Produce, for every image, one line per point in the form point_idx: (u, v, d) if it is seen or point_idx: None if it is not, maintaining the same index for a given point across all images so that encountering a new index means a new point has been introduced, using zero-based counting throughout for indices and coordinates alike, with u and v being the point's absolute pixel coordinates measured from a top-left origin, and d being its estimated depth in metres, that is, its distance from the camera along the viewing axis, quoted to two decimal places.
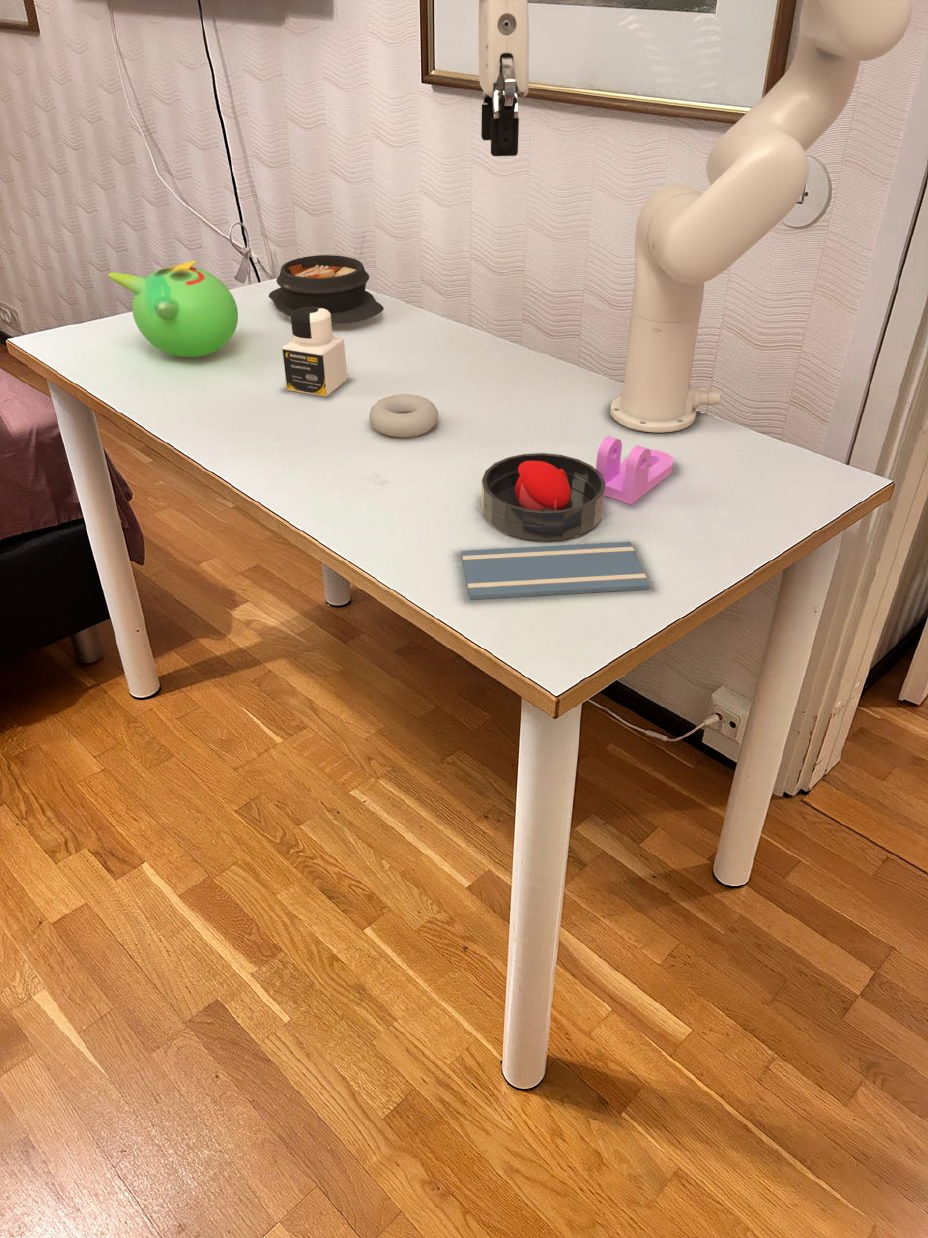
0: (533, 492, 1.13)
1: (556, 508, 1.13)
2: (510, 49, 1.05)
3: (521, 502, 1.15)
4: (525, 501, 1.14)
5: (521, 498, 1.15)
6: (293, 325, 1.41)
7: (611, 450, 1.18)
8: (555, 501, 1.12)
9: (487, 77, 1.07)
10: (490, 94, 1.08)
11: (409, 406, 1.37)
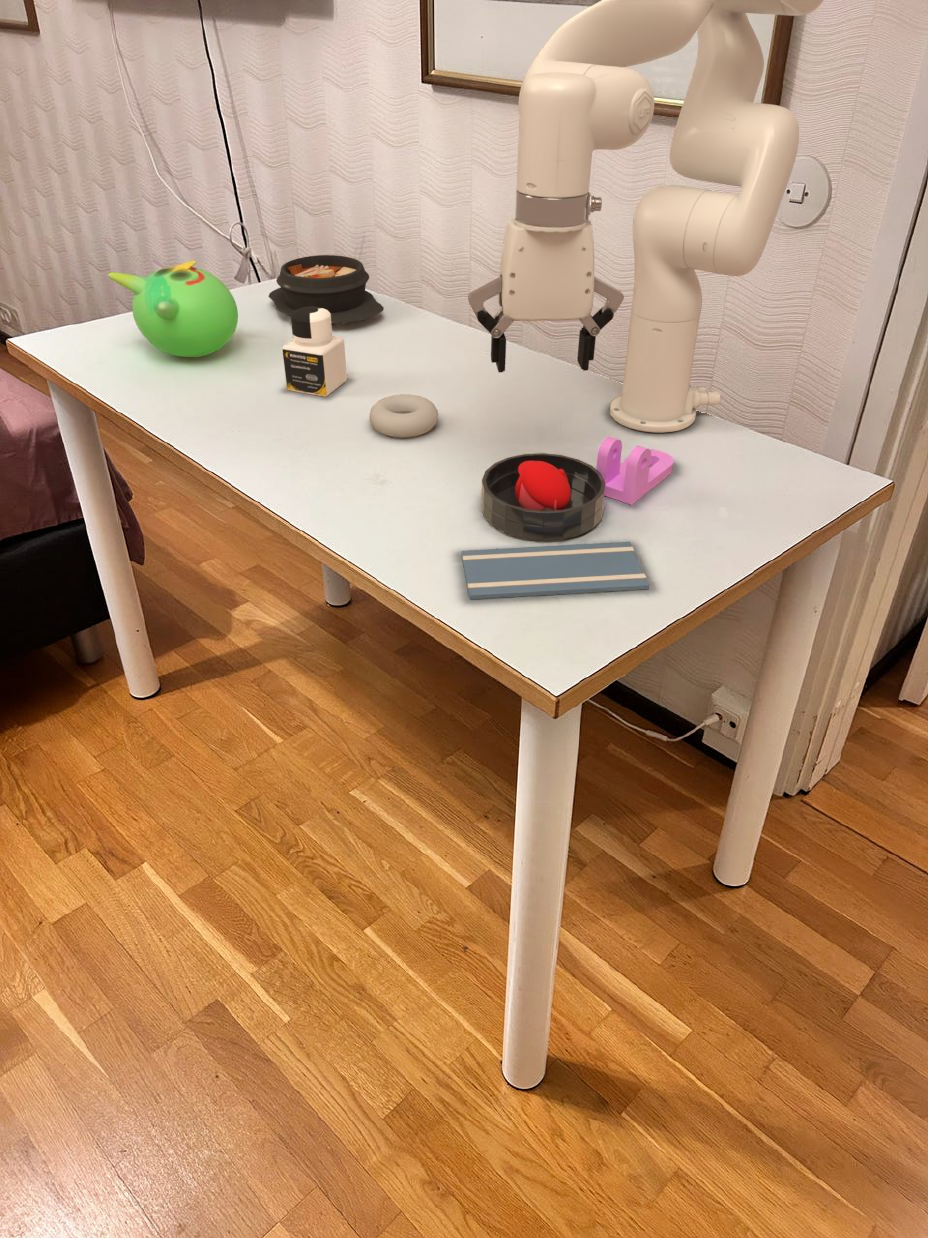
0: (533, 492, 1.13)
1: (556, 508, 1.13)
2: None
3: (521, 502, 1.15)
4: (525, 501, 1.14)
5: (521, 498, 1.15)
6: (293, 325, 1.41)
7: (612, 450, 1.18)
8: (555, 501, 1.12)
9: (587, 301, 1.02)
10: (586, 316, 1.03)
11: (409, 406, 1.37)
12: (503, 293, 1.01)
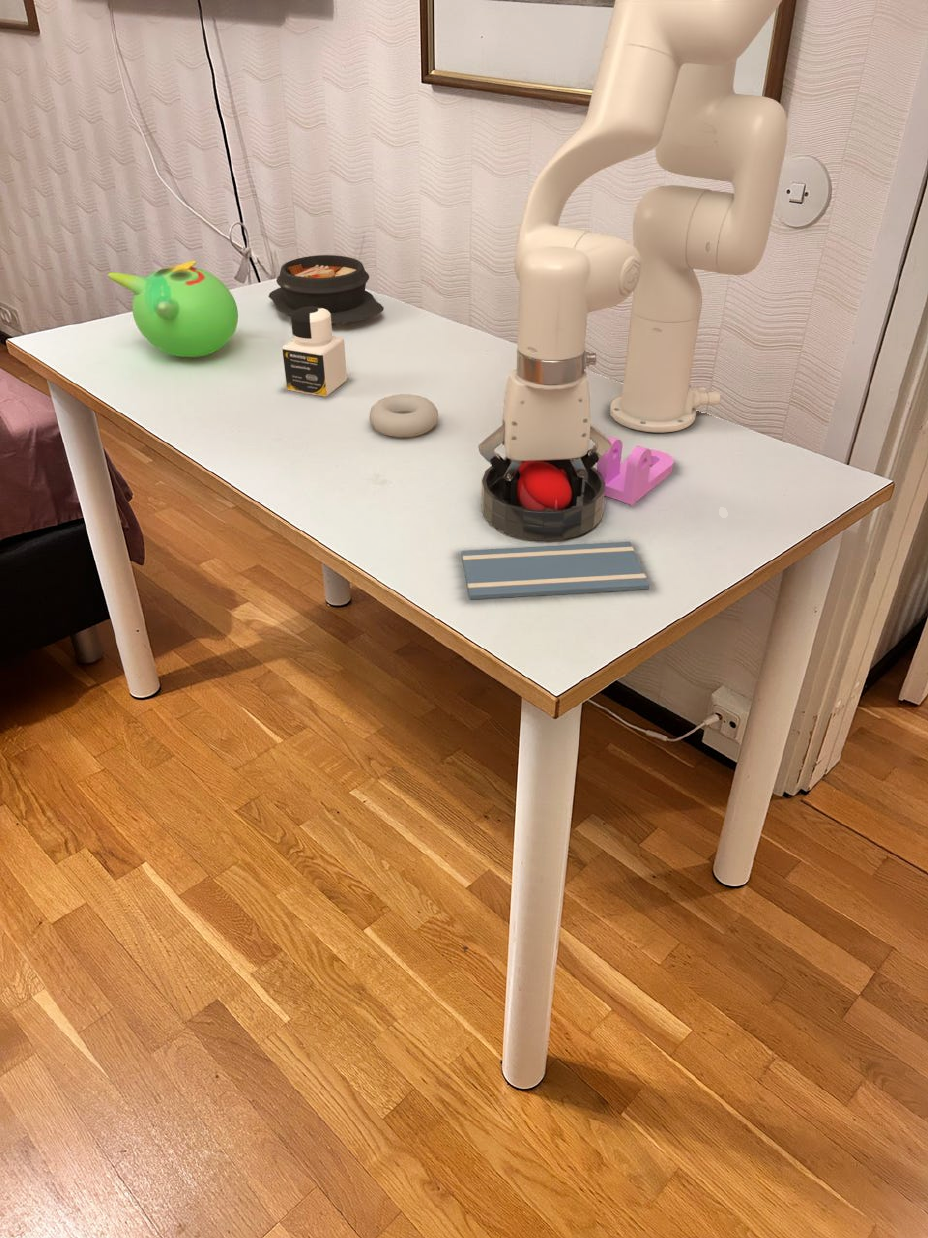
0: (534, 492, 1.13)
1: (557, 508, 1.13)
2: None
3: (522, 502, 1.15)
4: (526, 501, 1.14)
5: (522, 498, 1.15)
6: (293, 325, 1.41)
7: (612, 450, 1.18)
8: (556, 501, 1.12)
9: (584, 444, 1.10)
10: (583, 455, 1.11)
11: (409, 406, 1.37)
12: (506, 438, 1.09)
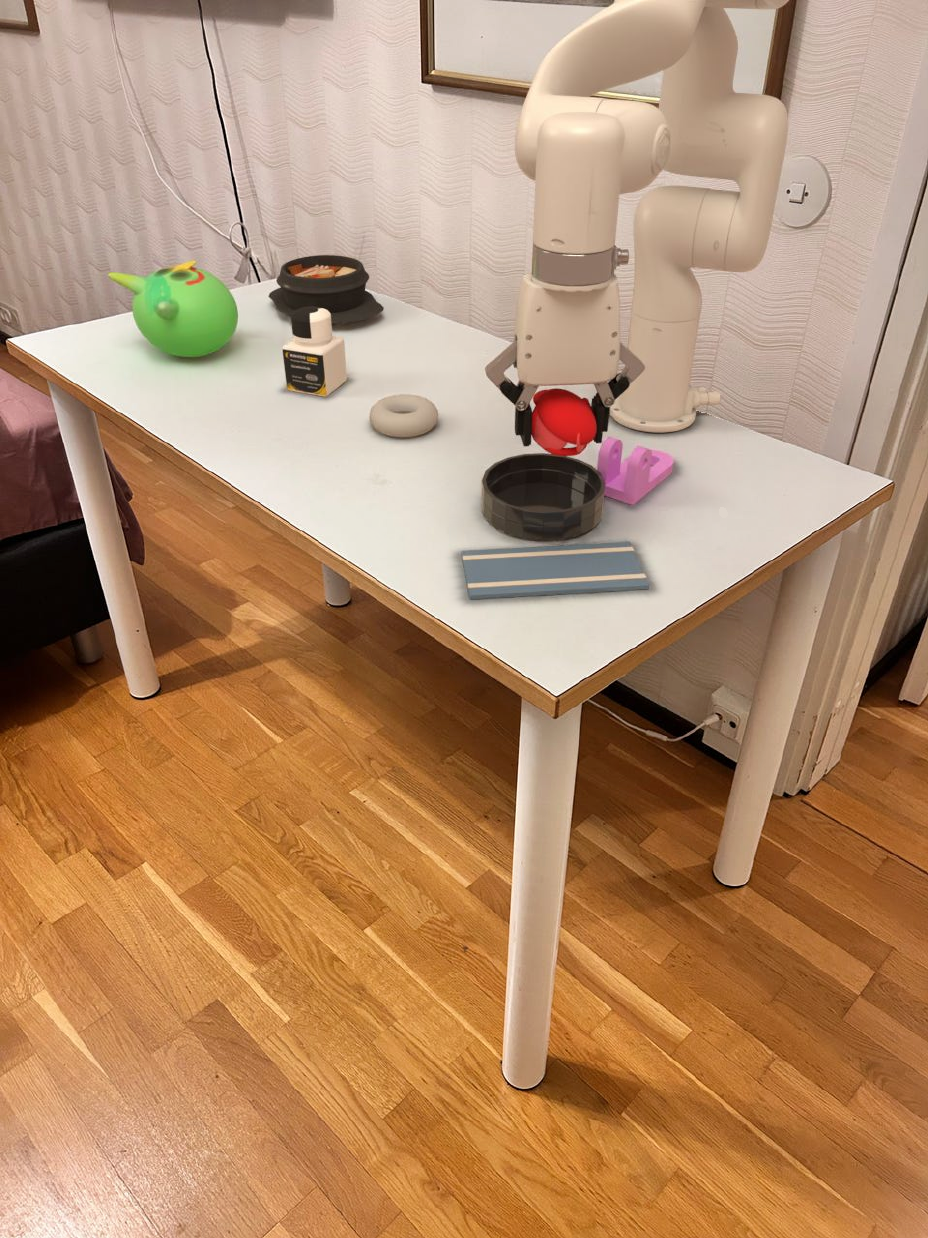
0: (552, 424, 0.94)
1: (579, 444, 0.94)
2: None
3: (537, 438, 0.96)
4: (542, 436, 0.96)
5: (537, 432, 0.96)
6: (293, 325, 1.41)
7: (612, 450, 1.18)
8: (578, 435, 0.94)
9: (613, 364, 0.91)
10: (611, 379, 0.93)
11: (409, 406, 1.37)
12: (518, 356, 0.90)
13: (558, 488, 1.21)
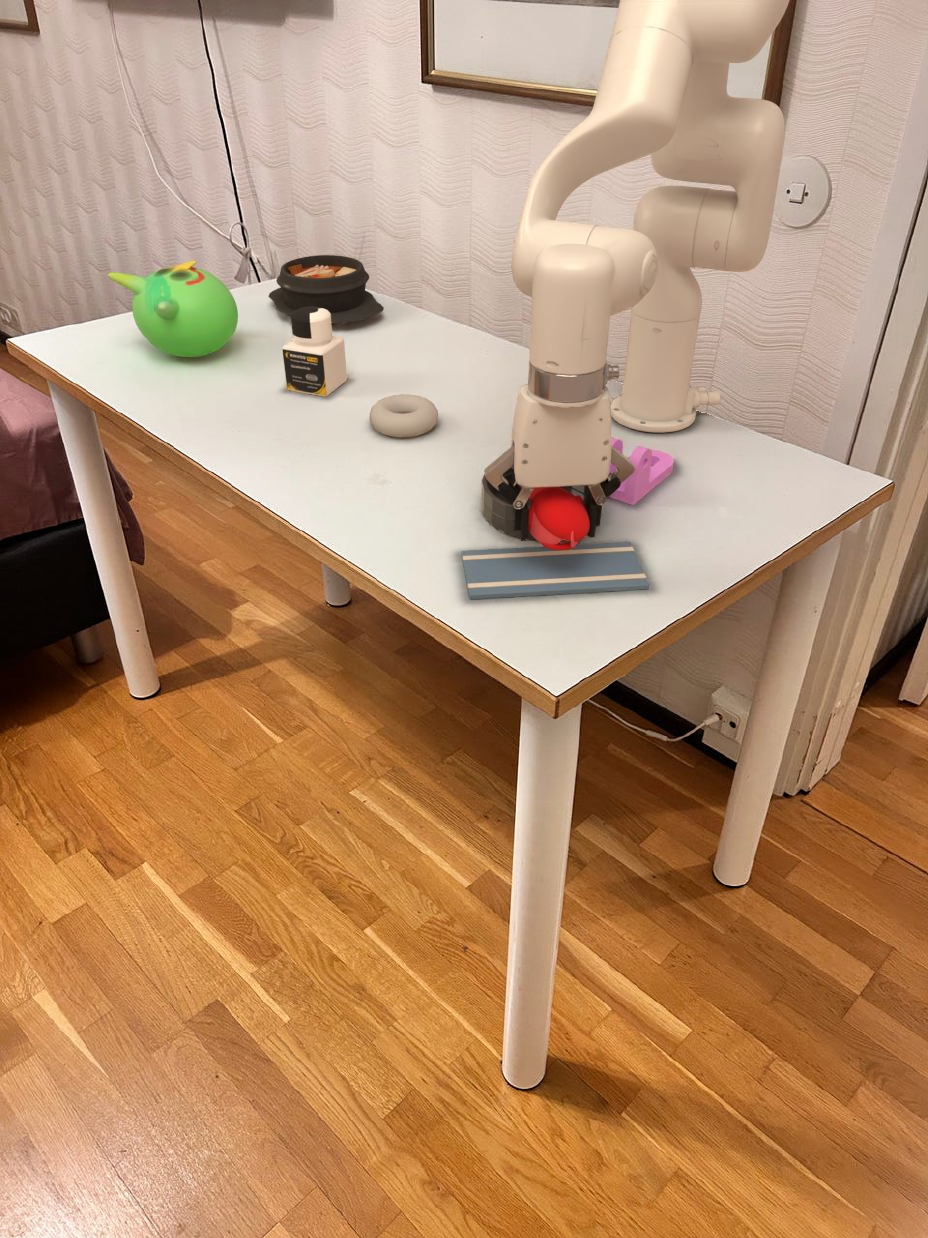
0: (547, 522, 1.00)
1: (573, 540, 1.00)
2: None
3: (533, 533, 1.02)
4: (538, 532, 1.01)
5: (533, 528, 1.02)
6: (293, 325, 1.41)
7: None
8: (572, 532, 0.99)
9: (604, 468, 0.97)
10: (603, 481, 0.98)
11: (409, 406, 1.37)
12: (515, 462, 0.96)
13: None
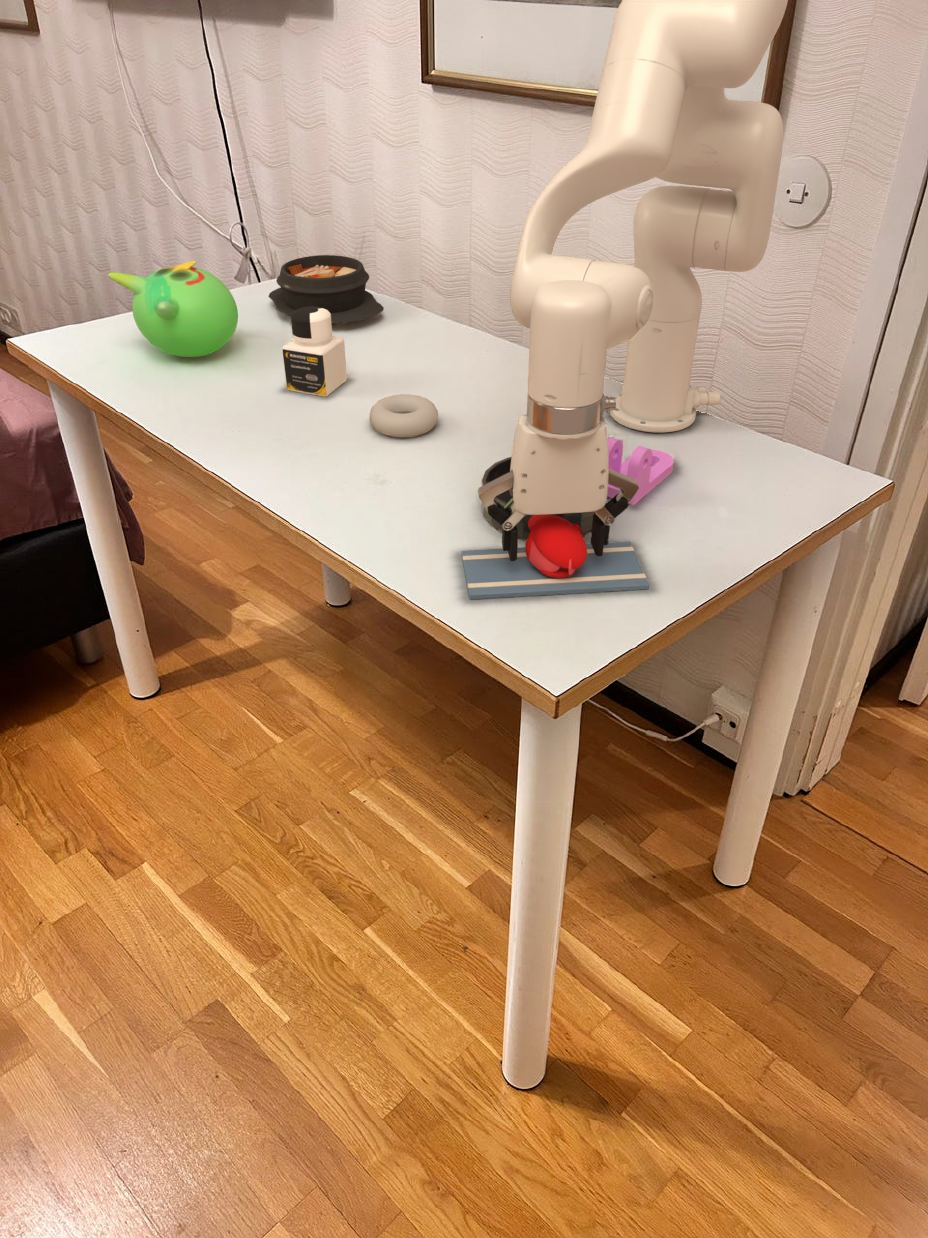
0: (545, 551, 1.02)
1: (571, 568, 1.02)
2: None
3: (532, 560, 1.04)
4: (536, 560, 1.04)
5: (532, 556, 1.04)
6: (293, 325, 1.41)
7: (613, 450, 1.18)
8: (570, 561, 1.02)
9: (601, 496, 0.99)
10: (600, 508, 1.00)
11: (409, 406, 1.37)
12: (514, 490, 0.98)
13: None
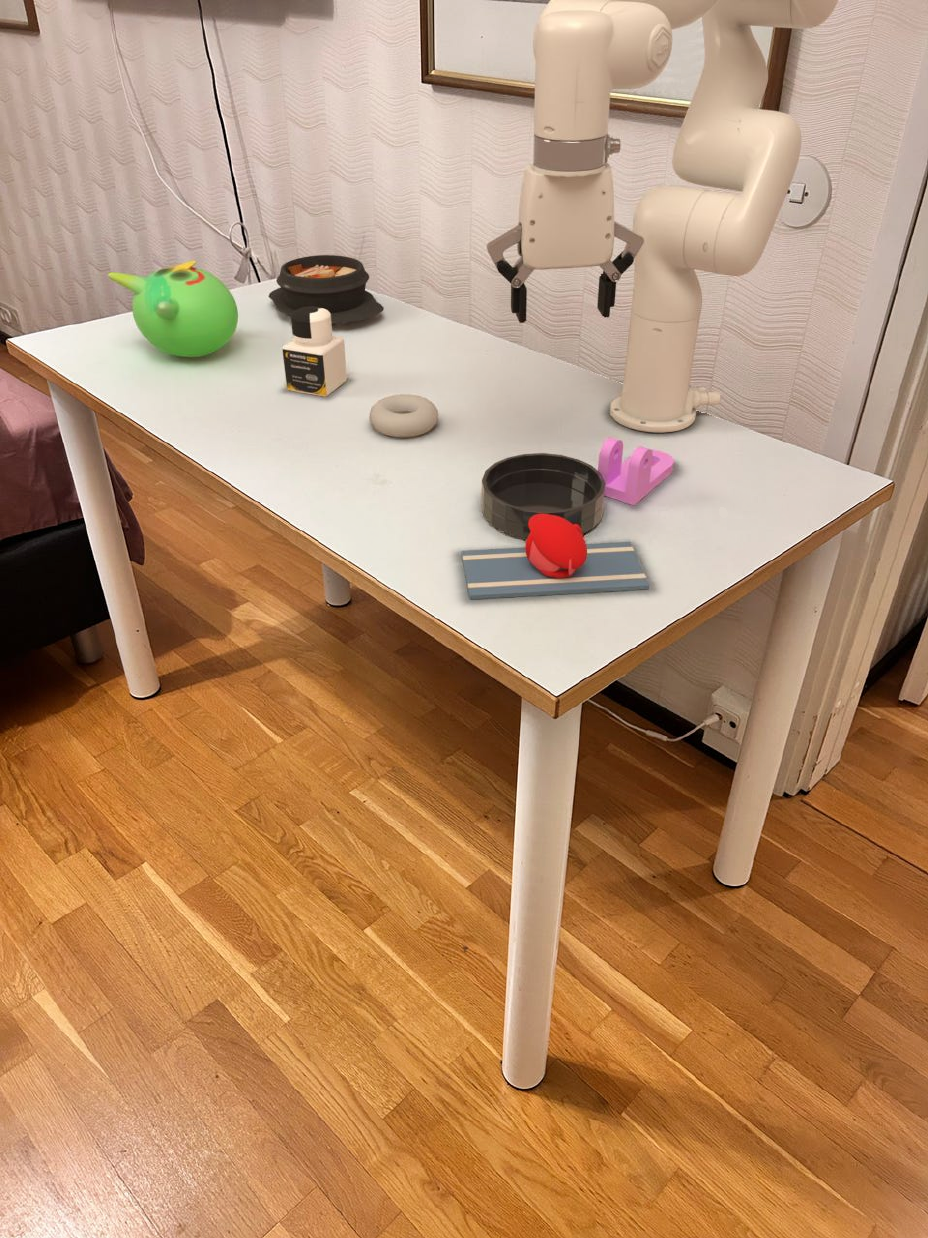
0: (545, 551, 1.02)
1: (571, 568, 1.02)
2: None
3: (532, 560, 1.04)
4: (536, 560, 1.04)
5: (532, 556, 1.04)
6: (293, 325, 1.41)
7: (613, 451, 1.18)
8: (570, 561, 1.02)
9: (608, 246, 1.01)
10: (607, 261, 1.02)
11: (409, 406, 1.37)
12: (523, 241, 1.00)
13: (558, 488, 1.21)
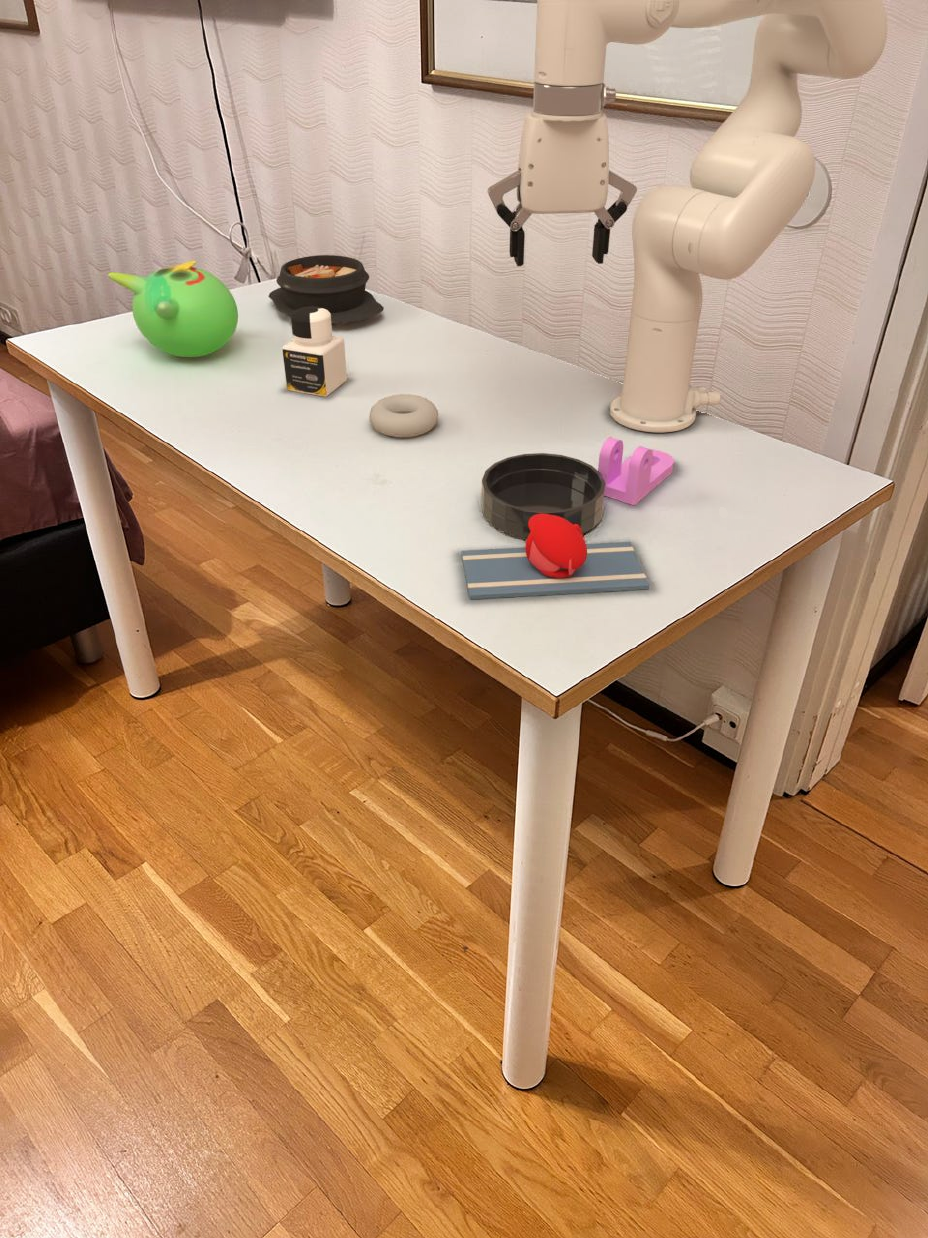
0: (545, 551, 1.02)
1: (571, 568, 1.02)
2: None
3: (532, 560, 1.04)
4: (536, 560, 1.04)
5: (532, 556, 1.04)
6: (293, 325, 1.41)
7: (614, 451, 1.18)
8: (570, 561, 1.02)
9: (602, 193, 1.07)
10: (601, 208, 1.08)
11: (409, 406, 1.37)
12: (522, 185, 1.06)
13: (558, 488, 1.21)
